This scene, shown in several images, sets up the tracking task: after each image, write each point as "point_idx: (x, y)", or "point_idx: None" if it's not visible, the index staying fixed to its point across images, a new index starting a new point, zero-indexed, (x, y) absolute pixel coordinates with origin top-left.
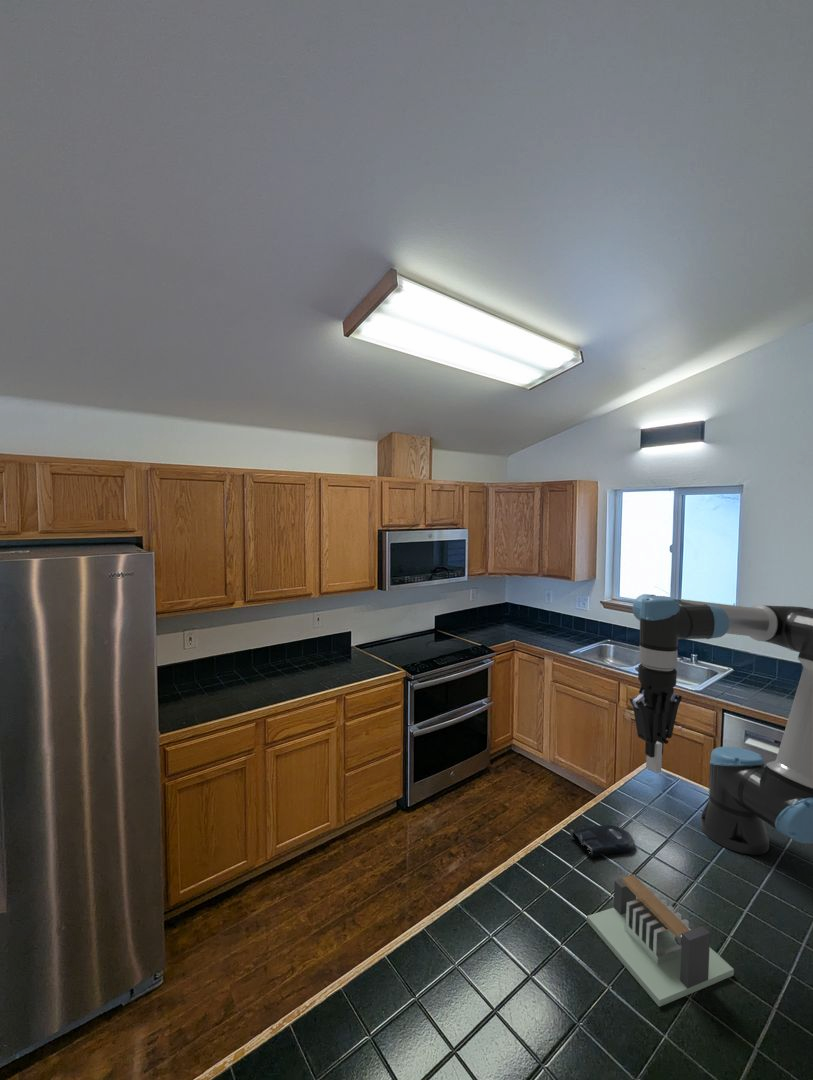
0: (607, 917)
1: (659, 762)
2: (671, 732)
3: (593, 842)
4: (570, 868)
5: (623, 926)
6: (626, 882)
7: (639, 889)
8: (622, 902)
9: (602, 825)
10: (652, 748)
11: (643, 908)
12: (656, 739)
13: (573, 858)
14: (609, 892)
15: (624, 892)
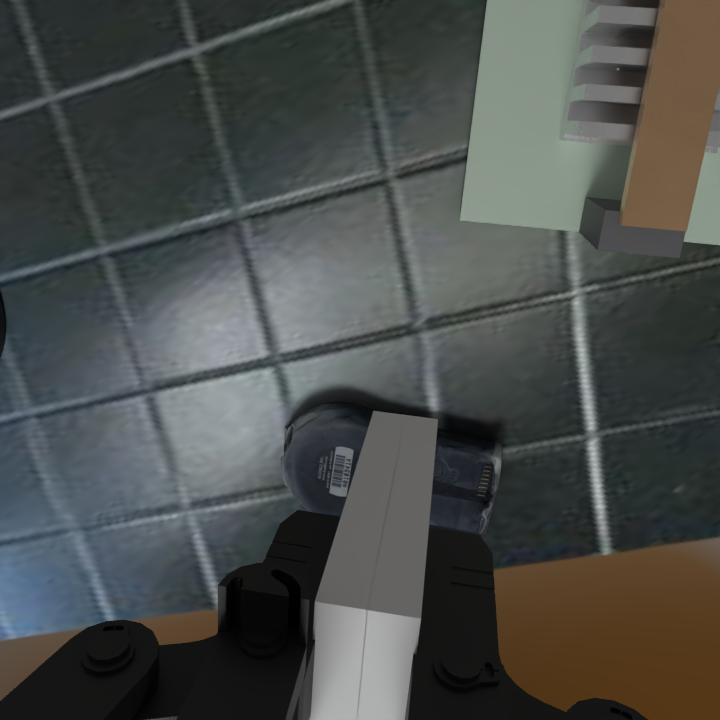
0: (713, 214)
1: (387, 462)
2: (42, 692)
3: (457, 475)
4: (603, 437)
5: None
6: (691, 206)
7: (675, 154)
8: None
9: None
10: (458, 606)
11: (717, 96)
12: (421, 688)
13: (552, 464)
14: (572, 304)
15: None
